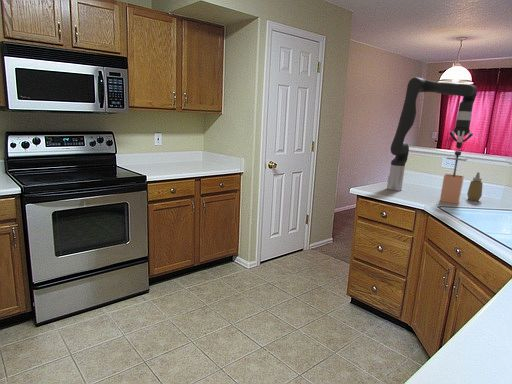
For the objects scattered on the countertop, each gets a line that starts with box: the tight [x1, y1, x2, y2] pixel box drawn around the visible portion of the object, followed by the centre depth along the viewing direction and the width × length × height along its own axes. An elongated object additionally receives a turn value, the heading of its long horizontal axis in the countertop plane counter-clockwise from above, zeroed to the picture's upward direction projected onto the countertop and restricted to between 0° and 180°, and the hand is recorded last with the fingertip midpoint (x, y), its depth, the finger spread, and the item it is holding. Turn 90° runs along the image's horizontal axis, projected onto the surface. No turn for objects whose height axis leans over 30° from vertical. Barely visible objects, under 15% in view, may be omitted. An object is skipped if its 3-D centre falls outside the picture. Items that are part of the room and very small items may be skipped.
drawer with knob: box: [446, 150, 468, 177], centre depth 225 cm, size 10×10×20 cm
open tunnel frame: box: [439, 173, 465, 205], centre depth 228 cm, size 10×10×16 cm
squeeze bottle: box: [466, 172, 483, 202], centre depth 234 cm, size 8×8×18 cm
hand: (458, 148), depth 222 cm, fingers closed
